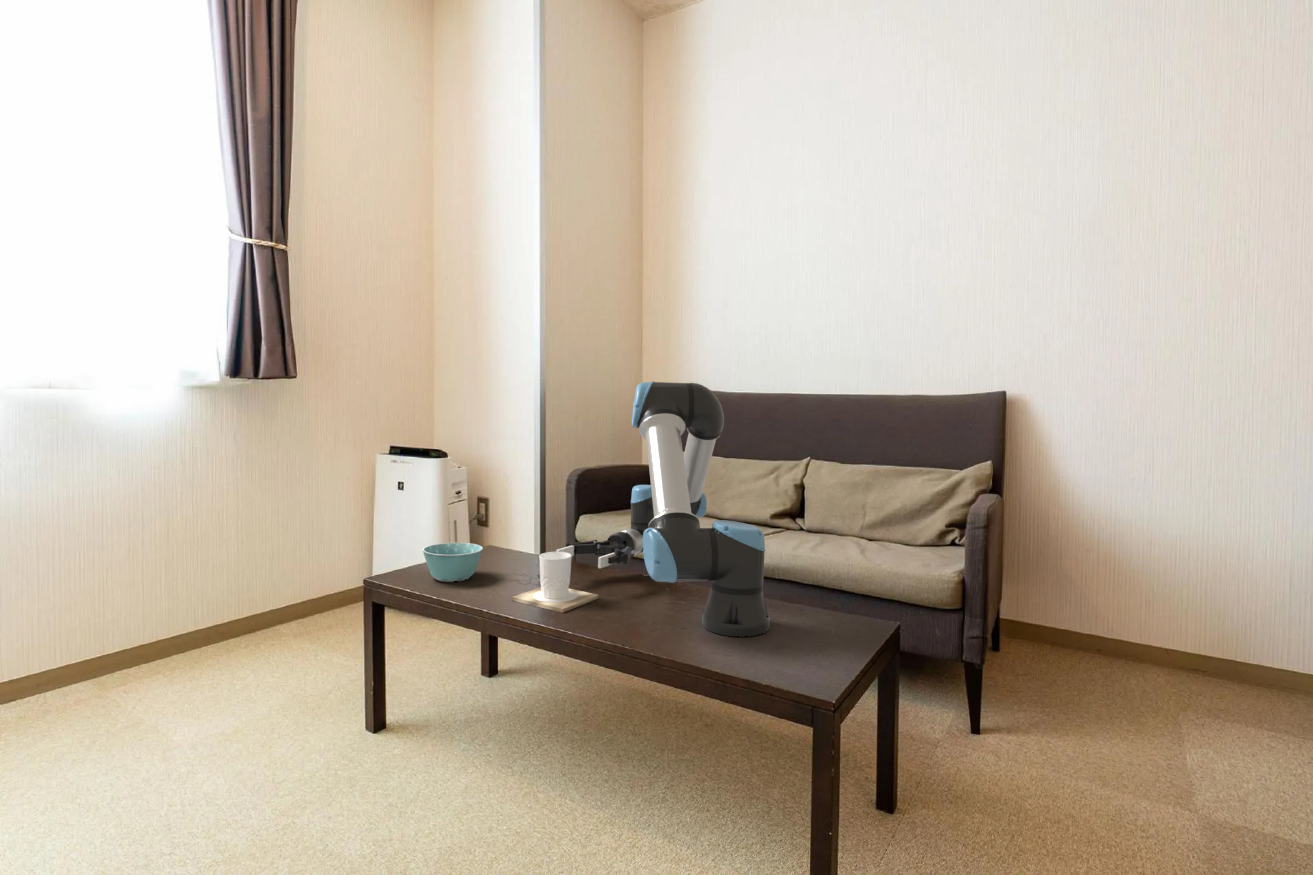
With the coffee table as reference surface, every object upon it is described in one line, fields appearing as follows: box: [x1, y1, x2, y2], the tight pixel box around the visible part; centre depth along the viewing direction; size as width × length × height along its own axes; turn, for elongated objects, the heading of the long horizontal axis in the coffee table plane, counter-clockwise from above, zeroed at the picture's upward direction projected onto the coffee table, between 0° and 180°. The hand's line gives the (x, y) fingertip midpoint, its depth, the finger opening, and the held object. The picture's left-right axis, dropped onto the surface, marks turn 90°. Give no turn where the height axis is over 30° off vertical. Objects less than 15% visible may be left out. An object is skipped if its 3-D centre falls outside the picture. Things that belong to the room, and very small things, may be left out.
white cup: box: [538, 551, 573, 599], centre depth 176 cm, size 8×8×10 cm
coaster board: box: [511, 586, 599, 613], centre depth 176 cm, size 16×14×1 cm
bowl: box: [422, 542, 484, 583], centre depth 193 cm, size 16×16×8 cm
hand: (577, 558), depth 183 cm, fingers open, 13 cm apart
